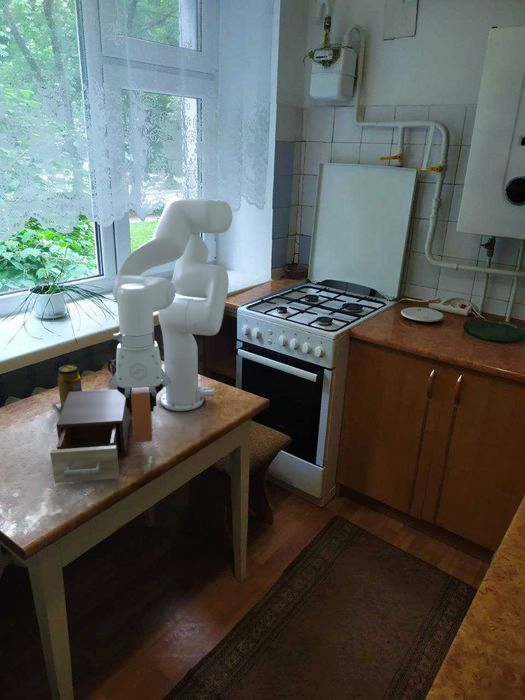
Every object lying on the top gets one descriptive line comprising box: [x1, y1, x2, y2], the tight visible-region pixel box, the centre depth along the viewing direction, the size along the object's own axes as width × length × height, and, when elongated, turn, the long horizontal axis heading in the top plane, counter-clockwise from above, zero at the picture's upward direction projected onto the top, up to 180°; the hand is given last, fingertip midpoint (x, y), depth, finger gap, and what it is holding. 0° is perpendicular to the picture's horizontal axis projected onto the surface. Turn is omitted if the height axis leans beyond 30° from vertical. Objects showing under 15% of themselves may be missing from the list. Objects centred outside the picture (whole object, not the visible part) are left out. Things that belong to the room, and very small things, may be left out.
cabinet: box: [55, 389, 131, 457], centre depth 125 cm, size 17×15×10 cm
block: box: [131, 387, 153, 443], centre depth 119 cm, size 4×5×13 cm
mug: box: [107, 358, 116, 377], centre depth 157 cm, size 12×9×7 cm
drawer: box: [49, 424, 120, 484], centre depth 113 cm, size 20×14×8 cm
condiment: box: [55, 364, 83, 412], centre depth 139 cm, size 7×8×12 cm
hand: (141, 408), depth 119 cm, fingers closed on block, 4 cm apart
